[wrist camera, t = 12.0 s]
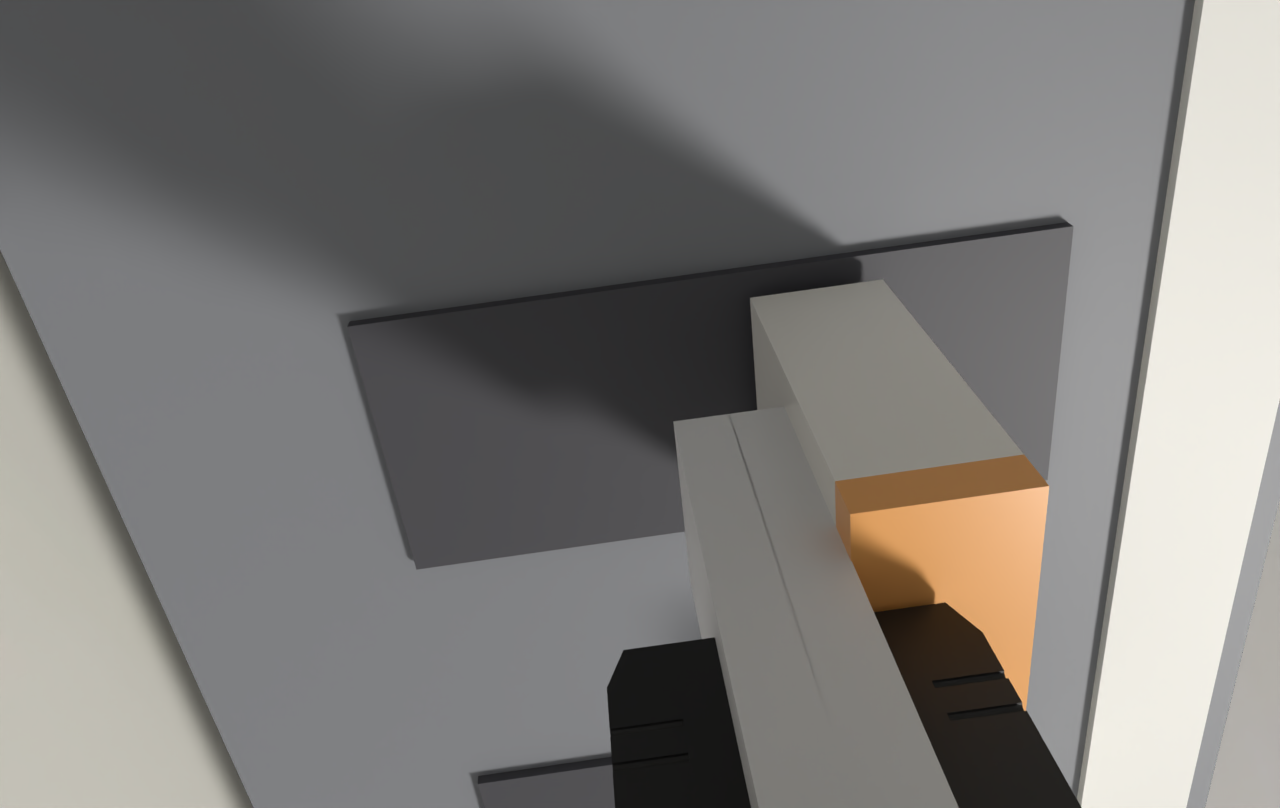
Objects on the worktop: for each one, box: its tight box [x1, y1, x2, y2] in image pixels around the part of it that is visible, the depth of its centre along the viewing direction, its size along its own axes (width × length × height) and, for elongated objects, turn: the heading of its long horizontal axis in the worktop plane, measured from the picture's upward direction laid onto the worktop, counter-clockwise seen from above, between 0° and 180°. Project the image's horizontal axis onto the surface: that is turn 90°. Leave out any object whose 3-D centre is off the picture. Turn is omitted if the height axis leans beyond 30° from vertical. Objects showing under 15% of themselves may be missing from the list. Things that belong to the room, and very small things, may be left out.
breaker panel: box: [0, 0, 1280, 808], centre depth 17 cm, size 28×20×2 cm
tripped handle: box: [750, 279, 1049, 711], centre depth 13 cm, size 4×2×6 cm, turn 7°
